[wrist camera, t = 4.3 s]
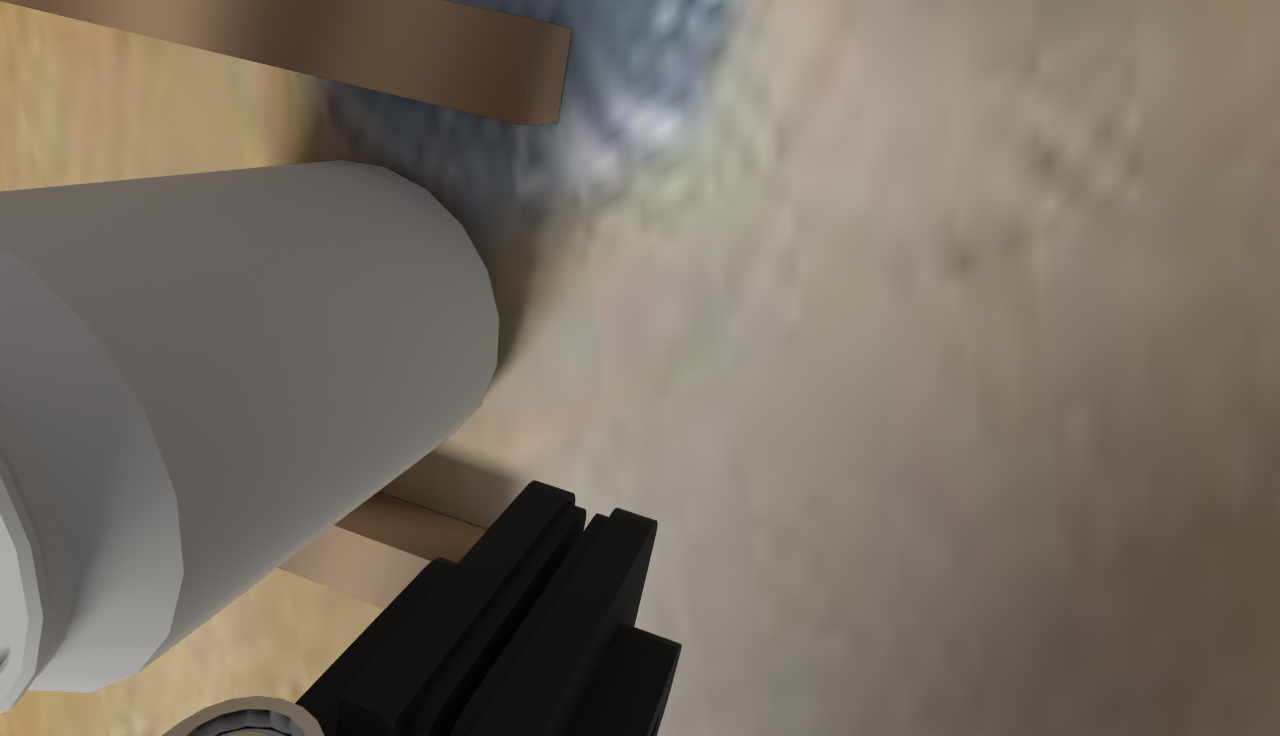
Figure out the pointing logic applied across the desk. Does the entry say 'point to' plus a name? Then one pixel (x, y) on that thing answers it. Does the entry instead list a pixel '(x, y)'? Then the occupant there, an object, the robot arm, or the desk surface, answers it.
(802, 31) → the desk surface
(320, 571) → the channel
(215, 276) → the can
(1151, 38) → the desk surface
